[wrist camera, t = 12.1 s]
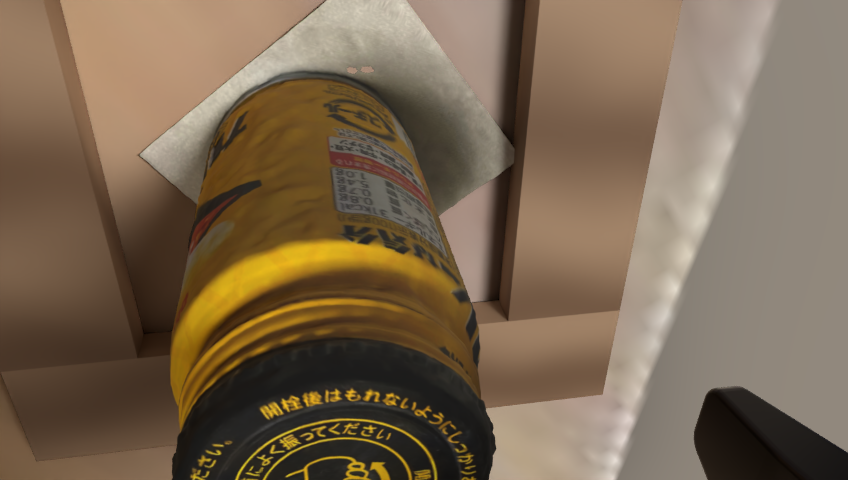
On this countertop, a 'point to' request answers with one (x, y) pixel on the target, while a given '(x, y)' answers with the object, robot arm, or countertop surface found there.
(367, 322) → the condiment
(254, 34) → the countertop surface
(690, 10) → the countertop surface
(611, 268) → the brown frame
